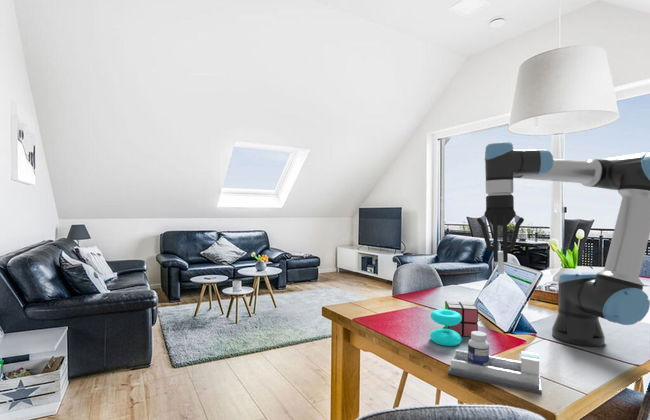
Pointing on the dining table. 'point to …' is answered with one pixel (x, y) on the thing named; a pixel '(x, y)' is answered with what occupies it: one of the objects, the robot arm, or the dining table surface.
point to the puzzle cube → (464, 317)
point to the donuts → (446, 335)
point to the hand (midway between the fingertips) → (500, 272)
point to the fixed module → (530, 363)
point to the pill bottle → (478, 348)
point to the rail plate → (495, 372)
